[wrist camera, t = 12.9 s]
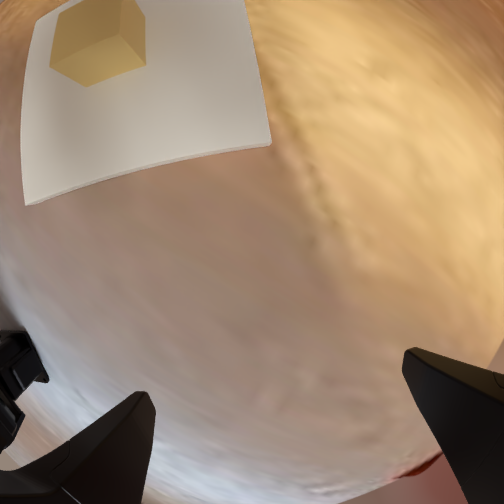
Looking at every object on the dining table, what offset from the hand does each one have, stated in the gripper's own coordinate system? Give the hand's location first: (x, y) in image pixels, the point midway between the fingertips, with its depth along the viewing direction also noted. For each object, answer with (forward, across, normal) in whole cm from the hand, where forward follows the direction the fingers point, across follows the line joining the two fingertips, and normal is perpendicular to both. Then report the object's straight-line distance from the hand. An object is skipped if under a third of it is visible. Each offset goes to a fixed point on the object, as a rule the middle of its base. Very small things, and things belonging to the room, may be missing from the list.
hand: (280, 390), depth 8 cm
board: (+12, +8, -19) cm, 24 cm away
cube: (+10, +8, -19) cm, 23 cm away
